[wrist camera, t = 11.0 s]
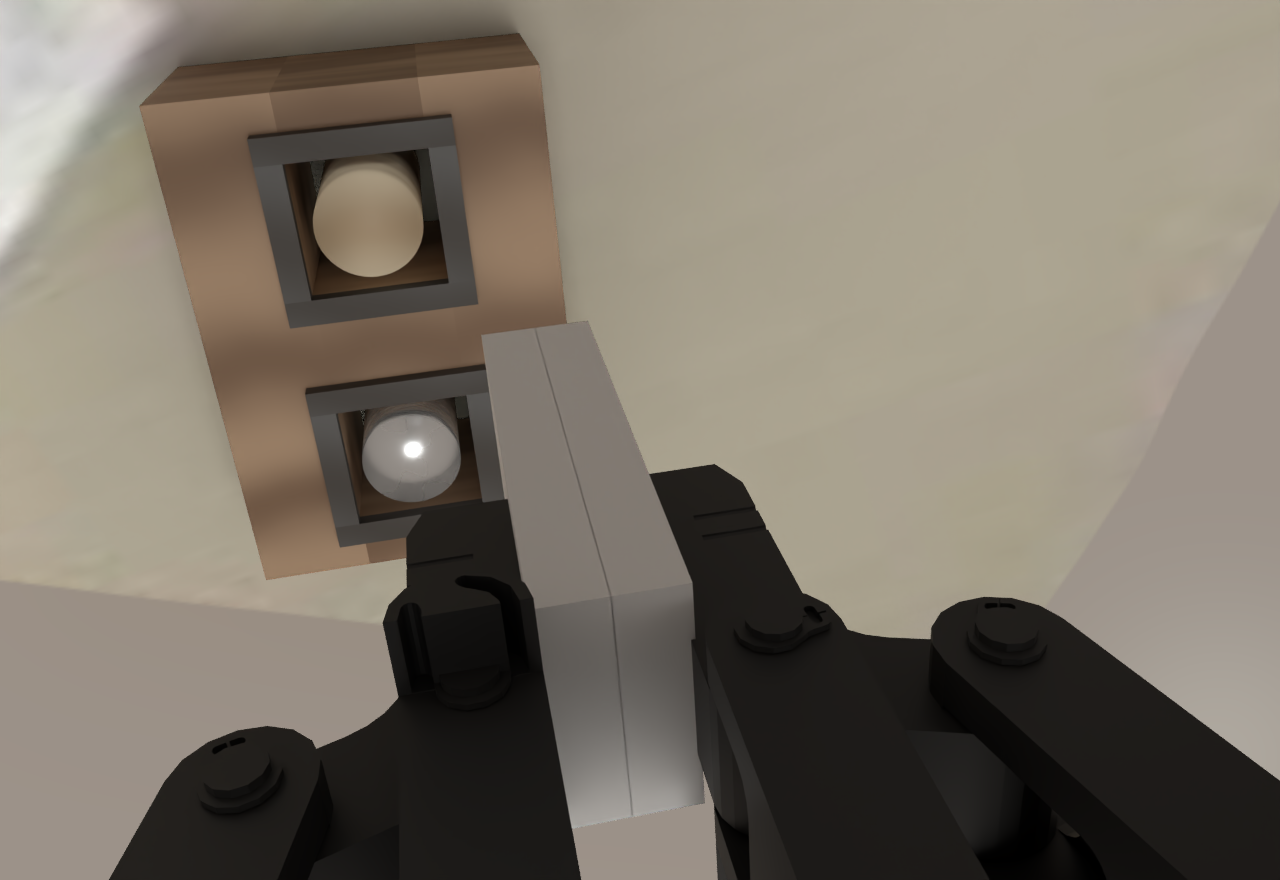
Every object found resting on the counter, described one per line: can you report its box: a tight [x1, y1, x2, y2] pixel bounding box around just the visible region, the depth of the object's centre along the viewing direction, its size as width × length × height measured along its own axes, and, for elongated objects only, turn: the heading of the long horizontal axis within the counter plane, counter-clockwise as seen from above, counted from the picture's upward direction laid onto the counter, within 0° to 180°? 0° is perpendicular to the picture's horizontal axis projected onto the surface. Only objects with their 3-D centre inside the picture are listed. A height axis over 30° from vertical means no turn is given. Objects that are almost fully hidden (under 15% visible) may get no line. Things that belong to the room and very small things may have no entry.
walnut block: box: [139, 34, 567, 580], centre depth 49 cm, size 20×14×9 cm
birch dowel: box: [313, 150, 423, 277], centre depth 46 cm, size 4×4×8 cm
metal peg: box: [362, 397, 461, 502], centre depth 51 cm, size 4×4×8 cm
